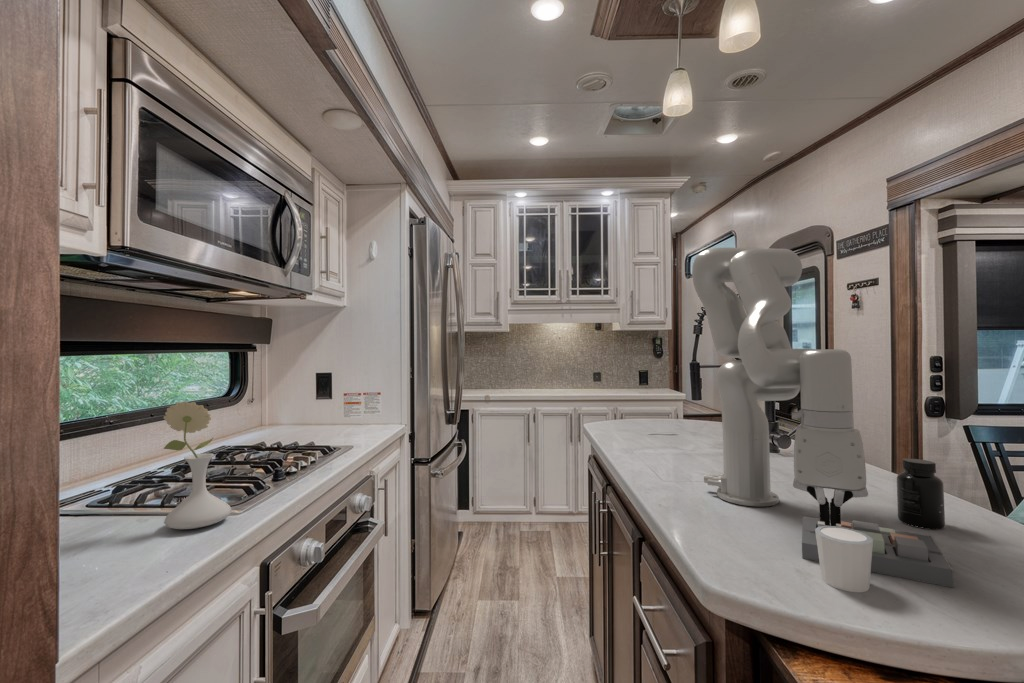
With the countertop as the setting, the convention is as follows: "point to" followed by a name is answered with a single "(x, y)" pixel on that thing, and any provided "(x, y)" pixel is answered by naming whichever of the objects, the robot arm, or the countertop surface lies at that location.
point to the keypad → (891, 553)
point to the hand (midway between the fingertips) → (830, 526)
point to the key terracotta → (899, 536)
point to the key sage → (876, 542)
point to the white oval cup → (844, 557)
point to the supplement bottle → (920, 495)
